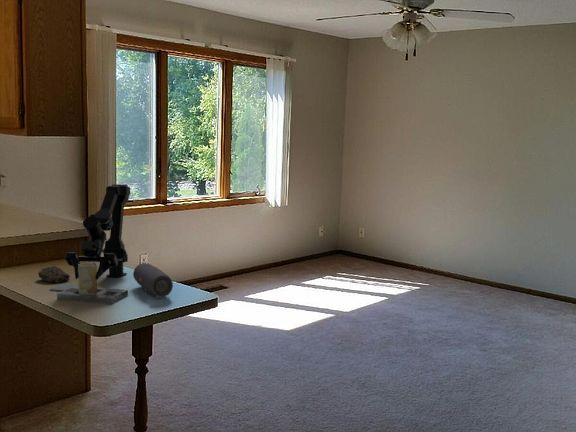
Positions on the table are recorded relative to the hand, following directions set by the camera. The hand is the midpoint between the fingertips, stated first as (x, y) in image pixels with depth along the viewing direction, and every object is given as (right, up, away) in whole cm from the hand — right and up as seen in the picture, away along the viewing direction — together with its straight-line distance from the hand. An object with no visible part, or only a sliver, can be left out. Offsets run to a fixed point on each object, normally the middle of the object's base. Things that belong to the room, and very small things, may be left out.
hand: (86, 278), depth 225 cm
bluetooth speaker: (+22, -7, +9) cm, 25 cm away
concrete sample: (-22, -3, +25) cm, 34 cm away
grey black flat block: (+2, -7, +2) cm, 7 cm away
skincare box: (0, -7, +2) cm, 7 cm away
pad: (-12, -5, +13) cm, 18 cm away
